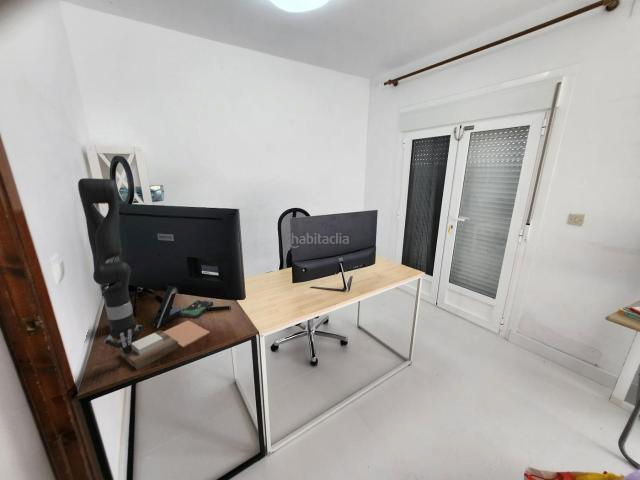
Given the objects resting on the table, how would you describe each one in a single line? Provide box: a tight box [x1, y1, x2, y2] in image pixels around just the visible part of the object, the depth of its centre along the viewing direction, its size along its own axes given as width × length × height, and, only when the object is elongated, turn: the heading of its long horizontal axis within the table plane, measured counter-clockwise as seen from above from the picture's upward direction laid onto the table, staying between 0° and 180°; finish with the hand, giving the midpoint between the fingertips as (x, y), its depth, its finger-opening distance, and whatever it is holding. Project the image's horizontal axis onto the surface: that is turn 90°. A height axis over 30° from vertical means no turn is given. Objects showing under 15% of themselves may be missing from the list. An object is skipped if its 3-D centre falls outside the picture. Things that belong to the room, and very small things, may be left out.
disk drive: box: [180, 299, 214, 319], centre depth 141 cm, size 10×3×15 cm
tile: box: [131, 332, 163, 355], centre depth 106 cm, size 7×9×2 cm
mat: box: [163, 320, 211, 348], centre depth 120 cm, size 18×13×1 cm
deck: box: [118, 329, 180, 371], centre depth 107 cm, size 15×16×3 cm
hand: (127, 353), depth 101 cm, fingers closed
